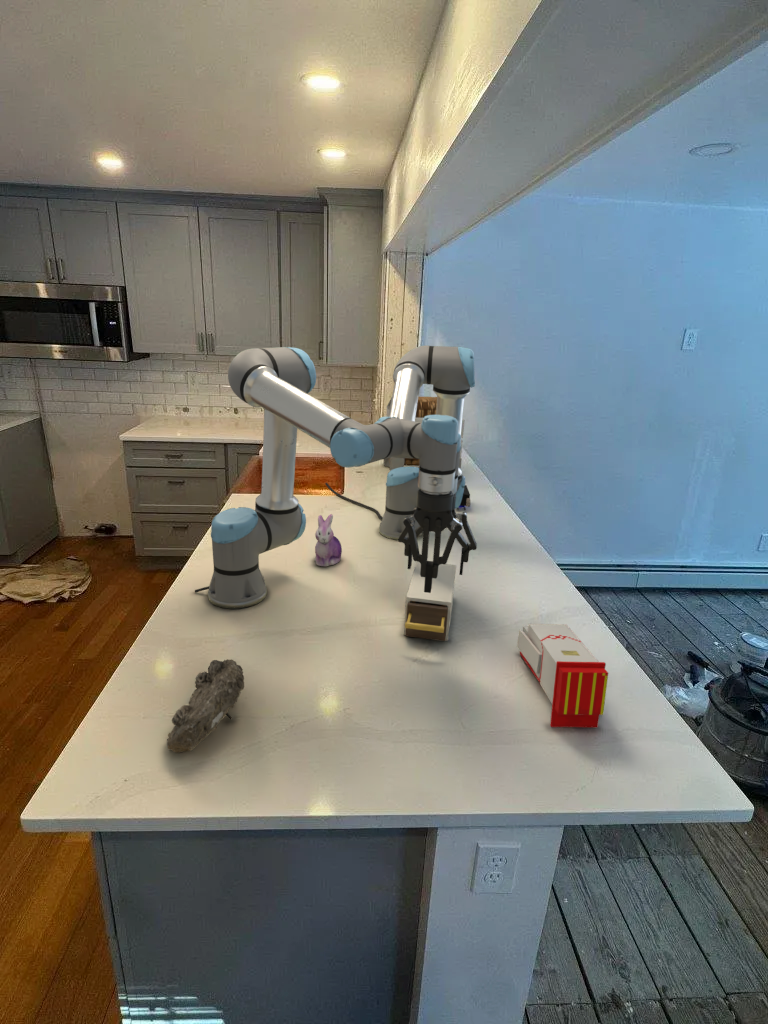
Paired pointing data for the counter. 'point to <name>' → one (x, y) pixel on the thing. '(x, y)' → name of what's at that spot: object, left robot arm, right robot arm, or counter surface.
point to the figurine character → (465, 499)
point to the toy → (565, 673)
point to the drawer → (426, 620)
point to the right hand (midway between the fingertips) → (435, 570)
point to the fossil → (206, 705)
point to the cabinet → (433, 589)
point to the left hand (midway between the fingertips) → (427, 589)
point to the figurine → (326, 543)
